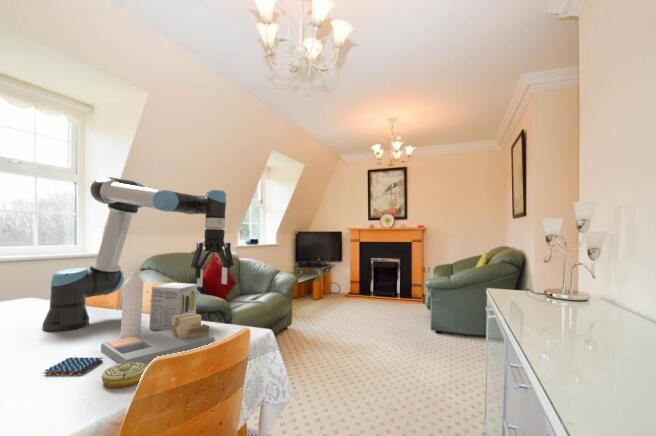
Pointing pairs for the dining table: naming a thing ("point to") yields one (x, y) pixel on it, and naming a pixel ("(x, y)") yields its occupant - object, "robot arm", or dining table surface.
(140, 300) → the water bottle
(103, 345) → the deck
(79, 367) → the woven mat
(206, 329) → the walls
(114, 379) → the decorated donut
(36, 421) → the dining table surface
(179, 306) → the supplement box
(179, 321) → the block
